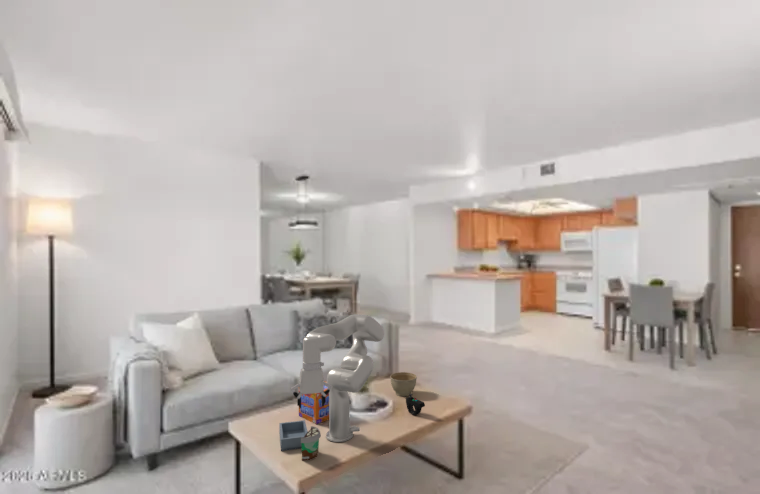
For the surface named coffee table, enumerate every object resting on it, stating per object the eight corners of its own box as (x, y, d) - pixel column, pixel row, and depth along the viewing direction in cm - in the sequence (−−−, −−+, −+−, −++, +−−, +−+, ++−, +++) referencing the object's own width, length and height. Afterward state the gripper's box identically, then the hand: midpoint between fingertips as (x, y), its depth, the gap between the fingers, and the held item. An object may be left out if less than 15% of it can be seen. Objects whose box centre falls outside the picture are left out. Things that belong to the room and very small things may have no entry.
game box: (340, 415, 219) (339, 386, 219) (316, 424, 208) (315, 393, 208) (322, 408, 230) (322, 379, 230) (298, 416, 219) (298, 386, 219)
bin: (304, 430, 201) (304, 420, 201) (308, 447, 184) (308, 436, 184) (279, 433, 198) (279, 423, 198) (280, 451, 181) (280, 439, 181)
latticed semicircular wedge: (314, 463, 170) (314, 439, 170) (300, 462, 171) (300, 438, 171) (324, 449, 182) (324, 426, 182) (311, 448, 183) (311, 425, 183)
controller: (410, 410, 226) (410, 392, 226) (426, 417, 216) (426, 398, 216) (404, 412, 223) (404, 393, 223) (420, 419, 214) (420, 400, 214)
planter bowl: (384, 394, 251) (384, 376, 251) (401, 387, 263) (400, 370, 263) (406, 400, 240) (406, 381, 241) (422, 393, 253) (421, 375, 253)
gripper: (330, 362, 183) (330, 401, 183) (290, 365, 179) (290, 404, 179) (332, 367, 176) (332, 407, 176) (291, 369, 172) (290, 411, 171)
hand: (311, 406), depth 177 cm, fingers open, 9 cm apart
